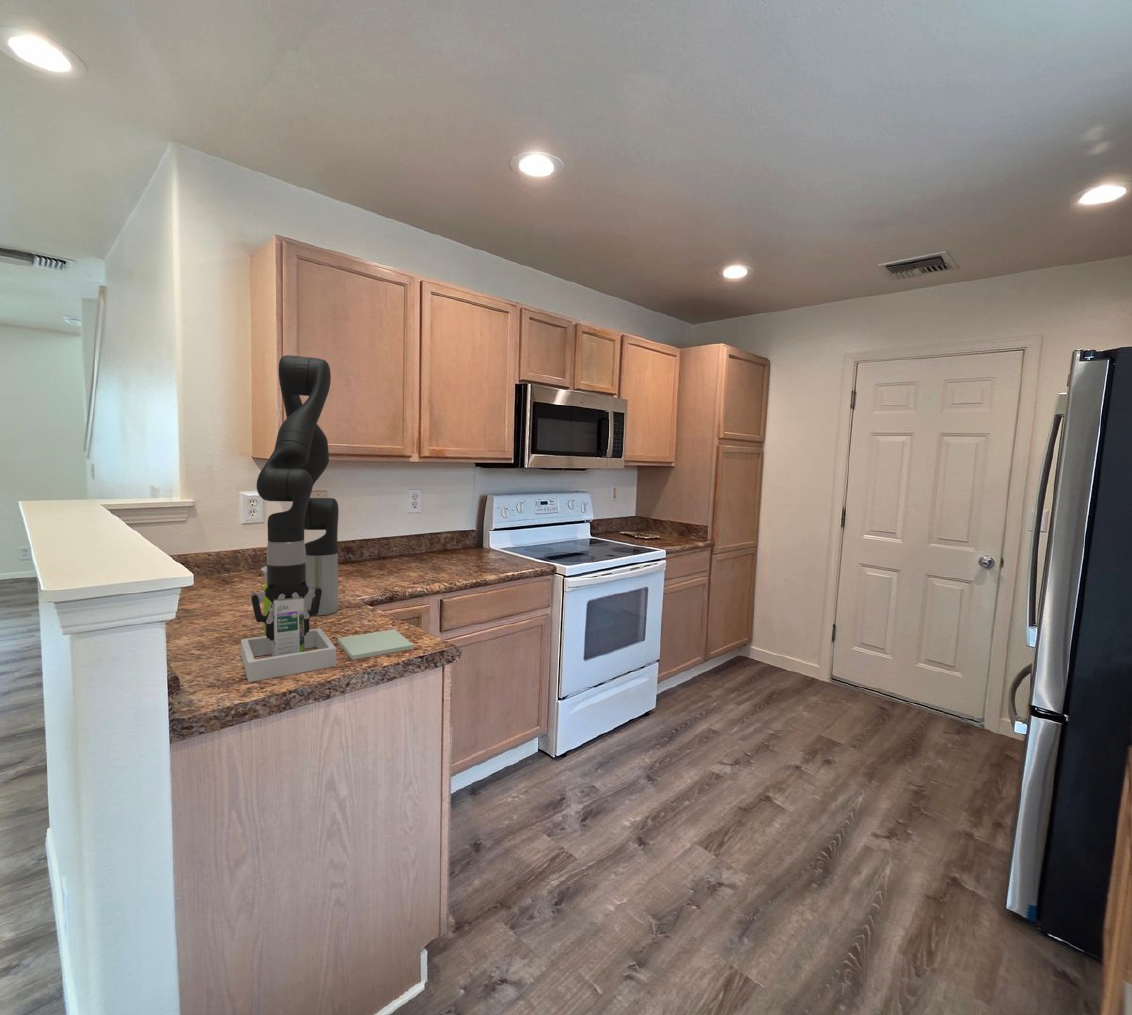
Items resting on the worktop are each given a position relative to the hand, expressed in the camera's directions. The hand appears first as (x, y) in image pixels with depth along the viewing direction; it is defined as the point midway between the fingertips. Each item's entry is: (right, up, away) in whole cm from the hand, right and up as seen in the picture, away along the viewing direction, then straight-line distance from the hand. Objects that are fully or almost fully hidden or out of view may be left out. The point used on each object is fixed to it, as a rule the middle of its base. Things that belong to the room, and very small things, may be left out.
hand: (287, 636), depth 118 cm
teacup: (-28, -1, +52) cm, 59 cm away
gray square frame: (0, -6, 0) cm, 6 cm away
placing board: (+15, -5, +12) cm, 20 cm away
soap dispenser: (-11, -4, +17) cm, 21 cm away
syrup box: (0, -6, +1) cm, 6 cm away
